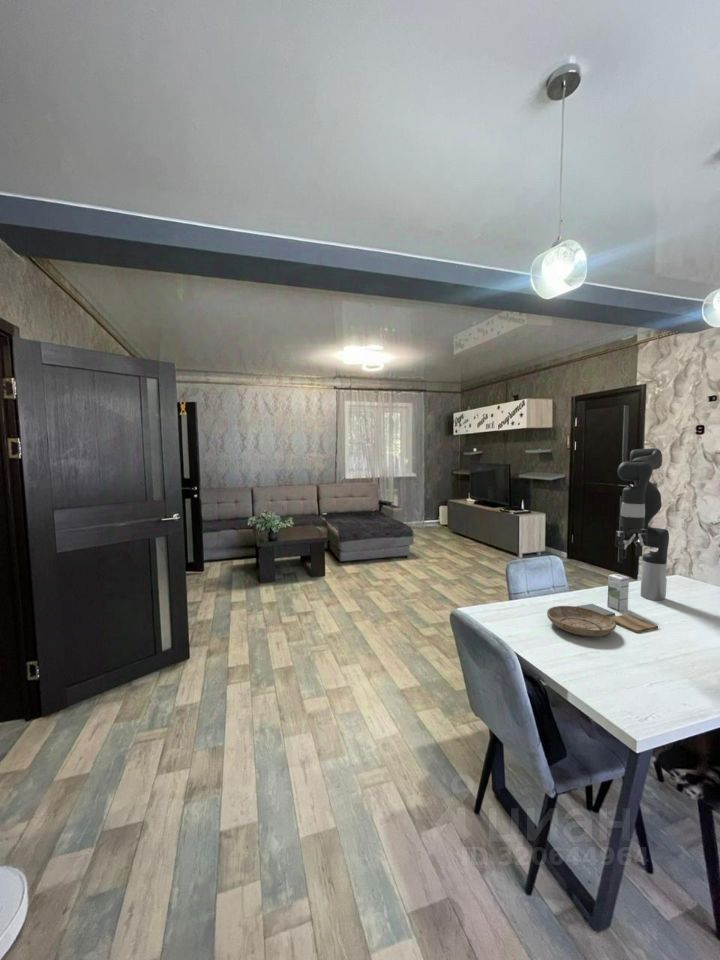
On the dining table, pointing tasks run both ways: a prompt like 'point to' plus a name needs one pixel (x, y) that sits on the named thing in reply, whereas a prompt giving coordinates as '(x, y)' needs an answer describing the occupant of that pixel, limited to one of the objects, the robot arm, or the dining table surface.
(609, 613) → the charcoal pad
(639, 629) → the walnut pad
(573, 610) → the ceramic bowl
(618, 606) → the syrup box
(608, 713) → the dining table surface
